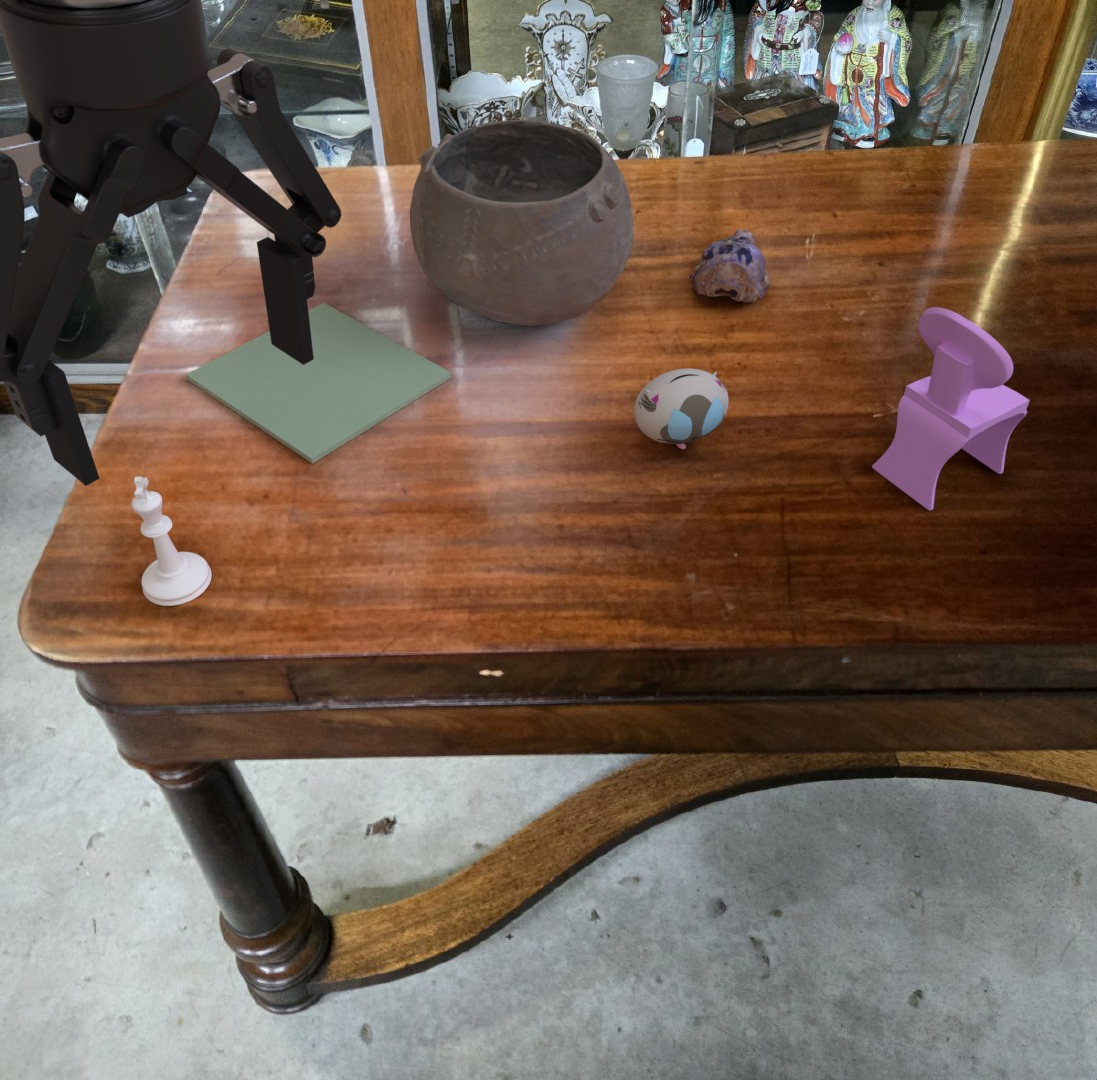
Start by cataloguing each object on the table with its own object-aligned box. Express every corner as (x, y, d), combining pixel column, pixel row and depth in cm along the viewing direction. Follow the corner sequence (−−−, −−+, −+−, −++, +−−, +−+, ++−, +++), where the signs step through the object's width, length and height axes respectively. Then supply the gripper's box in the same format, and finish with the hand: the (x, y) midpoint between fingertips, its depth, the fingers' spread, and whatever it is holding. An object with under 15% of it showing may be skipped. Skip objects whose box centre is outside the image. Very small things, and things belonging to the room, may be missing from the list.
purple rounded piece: (717, 242, 110) (729, 190, 105) (785, 266, 108) (802, 215, 103) (675, 303, 102) (687, 250, 98) (748, 330, 101) (764, 277, 96)
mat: (312, 464, 86) (311, 458, 85) (187, 379, 94) (185, 374, 94) (451, 377, 94) (451, 372, 93) (324, 307, 103) (323, 302, 102)
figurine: (650, 475, 84) (654, 409, 79) (619, 432, 88) (622, 367, 83) (737, 451, 86) (747, 385, 81) (704, 410, 90) (711, 345, 85)
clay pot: (664, 332, 98) (675, 181, 88) (453, 379, 94) (438, 225, 83) (583, 232, 113) (584, 91, 102) (396, 268, 108) (377, 124, 97)
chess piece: (217, 556, 78) (183, 453, 71) (204, 605, 74) (166, 502, 67) (152, 558, 78) (110, 456, 71) (135, 607, 74) (90, 504, 67)
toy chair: (1017, 478, 83) (1082, 315, 72) (939, 518, 80) (995, 355, 69) (938, 423, 88) (988, 265, 78) (862, 460, 85) (903, 299, 74)
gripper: (-205, 98, 31) (11, 571, 46) (400, -68, 45) (411, 338, 60) (-314, 21, 34) (-77, 489, 49) (285, -112, 48) (324, 285, 63)
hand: (192, 407), depth 55 cm, fingers open, 13 cm apart
